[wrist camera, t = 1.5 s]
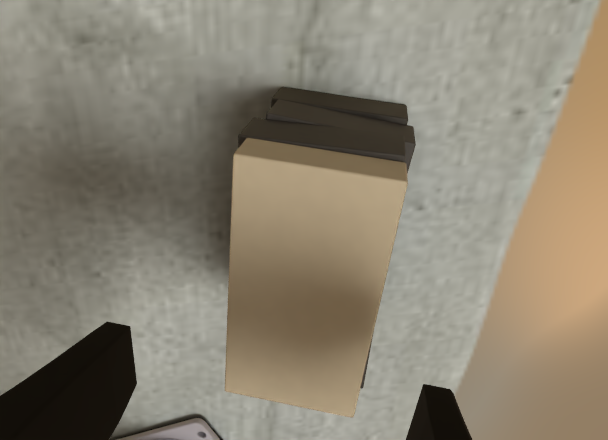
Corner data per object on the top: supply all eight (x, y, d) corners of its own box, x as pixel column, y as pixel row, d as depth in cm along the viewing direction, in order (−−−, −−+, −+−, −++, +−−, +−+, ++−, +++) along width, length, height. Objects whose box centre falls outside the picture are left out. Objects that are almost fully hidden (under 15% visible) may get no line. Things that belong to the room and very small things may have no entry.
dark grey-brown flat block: (365, 354, 19) (363, 389, 18) (249, 334, 20) (236, 366, 18) (404, 134, 15) (406, 155, 13) (253, 117, 15) (237, 134, 14)
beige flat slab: (356, 387, 18) (353, 419, 17) (235, 363, 18) (224, 391, 17) (406, 162, 13) (408, 182, 12) (246, 136, 14) (232, 153, 13)
